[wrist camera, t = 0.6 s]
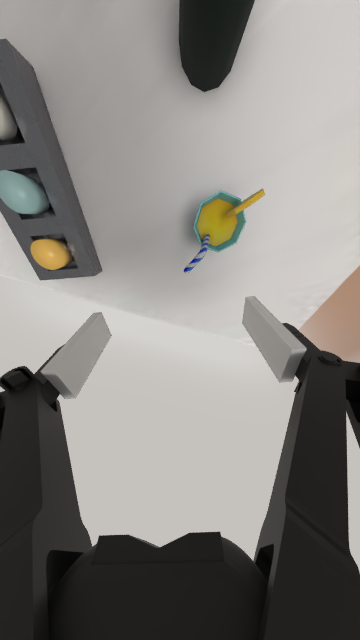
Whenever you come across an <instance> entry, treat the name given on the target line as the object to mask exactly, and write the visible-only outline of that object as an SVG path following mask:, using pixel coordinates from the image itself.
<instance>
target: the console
mask: <svg viewBox="0 0 360 640" xmlns="http://www.w3.org/2000/svg"><path fill="white" fill-rule="evenodd" d="M0 94H1V95H2V96H3V97H4V98H5V100H6V101H7V102H8V104H9V106H10V107H11V109H12V112H13V114H14V117H15V119H16V124H17V133H16V136H15V138H14V139H13V140H12V141H10V142H3V141H0V171H2V170H8V171H12V172H15V173H18V174H22V175H25V176H29V177H31V178H33V179H35V180H36V181H38V182H39V183H40V184H41V185H42V186H43V188H44V189H45V191H46V193H47V195H48V198H49V203H50V205H49V209H48V211H47V212H46V213H44V214H22V213H18V212H16V211H14V210H12V209H11V208H9V207H8V206H7V205H6V204H5V203H4V202H3V201H2V199H1V198H0V211H1V213H2V214H3V216H4V218H5V220H6V221H7V223H8V225H9V227H10V228H11V230H12V232H13V234H14V235H15V237H16V239H17V241H18V242H19V244H20V246H21V248H22V249H23V251H24V253H25V255H26V256H27V258H28V260H29V262H30V263H31V265H32V267H33V269H34V270H35V272H36V274H37V276H38V277H39V279H40V280H51V279H63V278H75V277H87V276H95V275H97V274H98V273H100V272H101V271H102V269H101V266H100V263H99V260H98V257H97V254H96V251H95V248H94V245H93V242H92V239H91V236H90V233H89V230H88V228H87V225H86V222H85V219H84V216H83V213H82V210H81V207H80V204H79V201H78V198H77V195H76V192H75V189H74V186H73V184H72V181H71V178H70V175H69V172H68V169H67V166H66V163H65V160H64V157H63V154H62V151H61V148H60V145H59V142H58V140H57V137H56V134H55V131H54V128H53V125H52V122H51V119H50V116H49V113H48V110H47V107H46V104H45V101H44V99H43V96H42V93H41V90H40V87H39V84H38V81H37V78H36V75H35V72H34V69H33V67H32V66H31V65H30V64H29V63H28V61H27V60H26V59H25V58H24V57H23V56H22V55H21V54H20V53H19V52H18V51H17V50H16V49H15V48H14V47H13V46H12V45H11V44H10V42H9V41H8V40H7V39H0ZM48 238H57V239H60V240H62V241H63V242H64V243H66V244H67V245H68V247H69V248H70V250H71V252H72V261H71V263H70V264H68V265H66V266H64V267H61V268H59V269H56V270H49V269H46V268H44V267H42V266H41V265H39V264H38V263H37V262H36V261H35V259H34V258H33V256H32V254H31V249H30V248H31V244H32V243H33V242H34V241H36V240H41V239H48Z"/></svg>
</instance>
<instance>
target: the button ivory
mask: <svg viewBox="0 0 360 640" xmlns="http://www.w3.org/2000/svg"><path fill="white" fill-rule="evenodd" d="M16 133H17V124H16V119H15V117H14V114H13V112H12V109H11V107H10V106H9V104H8V102H7V101H6V100H5V98H4V97H3V96H2V95H1V94H0V141H3V142H10V141H12V140H13V139H14V138H15V136H16Z"/></svg>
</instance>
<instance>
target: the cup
mask: <svg viewBox="0 0 360 640" xmlns="http://www.w3.org/2000/svg"><path fill="white" fill-rule="evenodd" d="M264 195H265V193H264V190H263V189H261V190H260V191H258V192H256V193H255V194H253V195H252V196H250V197H249V198H247V199H246V200H244V201H243V202H241V199H240V198H238V197H235V196H233V195H231V194H228V193H226V192H224V191H219V192H218V193H216V194H214V195H213V196H211V197H210V198H208V199H206V200H205V201H203V202H202V203H200V207H199V210H198V213H197V216H196V219H195V223H194V226H193V228H194V230H195V233H196V235H197V237H198V240H199V242H200V245H201V247H202V248H201V250H200V252H199V253H198V254H197V255H196V257H195V258H194V259H193V260H192V261H191V262H190V263H189V264H188V266H187V267H186V268H185V269H184V272H185V273H186V274H188V273H189V272H190V271H191V270H192V269H193V268H194V267H195V266H196V265H197V263H198V262H199V261H200V260H201V259H202V258H203V257H204V255H205V253H206V251H207V249H210V250H213V251H216V252H220V251H222V250H224V249H226V248H228V247H230V246H232V245H233V244H235V243H237V240H238V238H239V236H240V234H241V232H242V230H243V227H244V225H245V223H246V219H245V215H244V211H243V210H244V209H245V208H247V207H248V206H250V205H251V204H253V203H254V202H256V201H257V200H258V199H260V198H261V197H262V196H264Z"/></svg>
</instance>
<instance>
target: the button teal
mask: <svg viewBox="0 0 360 640" xmlns="http://www.w3.org/2000/svg"><path fill="white" fill-rule="evenodd" d="M0 198H1V199H2V201H3V202H4V203H5V204H6V205H7V206H8V207H9V208H11V209H12V210H14V211H16V212H18V213H22V214H44V213H46V212H47V211H48V209H49V205H50V203H49V198H48V195H47V193H46V191H45V189H44V188H43V186H42V185H41V184H40V183H39V182H38V181H36V180H35V179H33V178H31V177H29V176H25V175H22V174H18V173H15V172H12V171H8V170H2V171H0Z"/></svg>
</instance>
